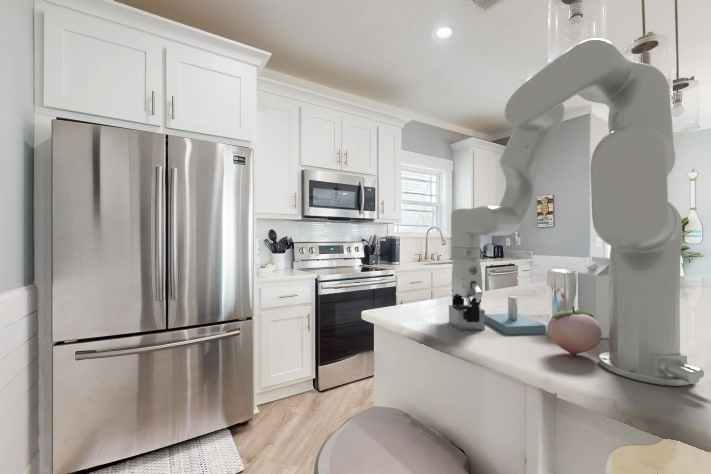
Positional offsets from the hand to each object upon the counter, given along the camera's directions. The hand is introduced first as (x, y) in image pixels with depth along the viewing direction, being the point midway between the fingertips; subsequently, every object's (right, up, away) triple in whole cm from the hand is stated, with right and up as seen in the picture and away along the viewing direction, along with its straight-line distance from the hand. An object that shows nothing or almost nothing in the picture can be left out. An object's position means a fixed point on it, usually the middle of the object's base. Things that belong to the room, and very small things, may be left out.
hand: (465, 316), depth 86 cm
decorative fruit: (+15, -3, -22) cm, 27 cm away
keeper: (+12, -2, -1) cm, 13 cm away
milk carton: (+31, -3, -8) cm, 32 cm away
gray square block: (0, -3, 0) cm, 3 cm away
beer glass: (+25, -3, -2) cm, 26 cm away
